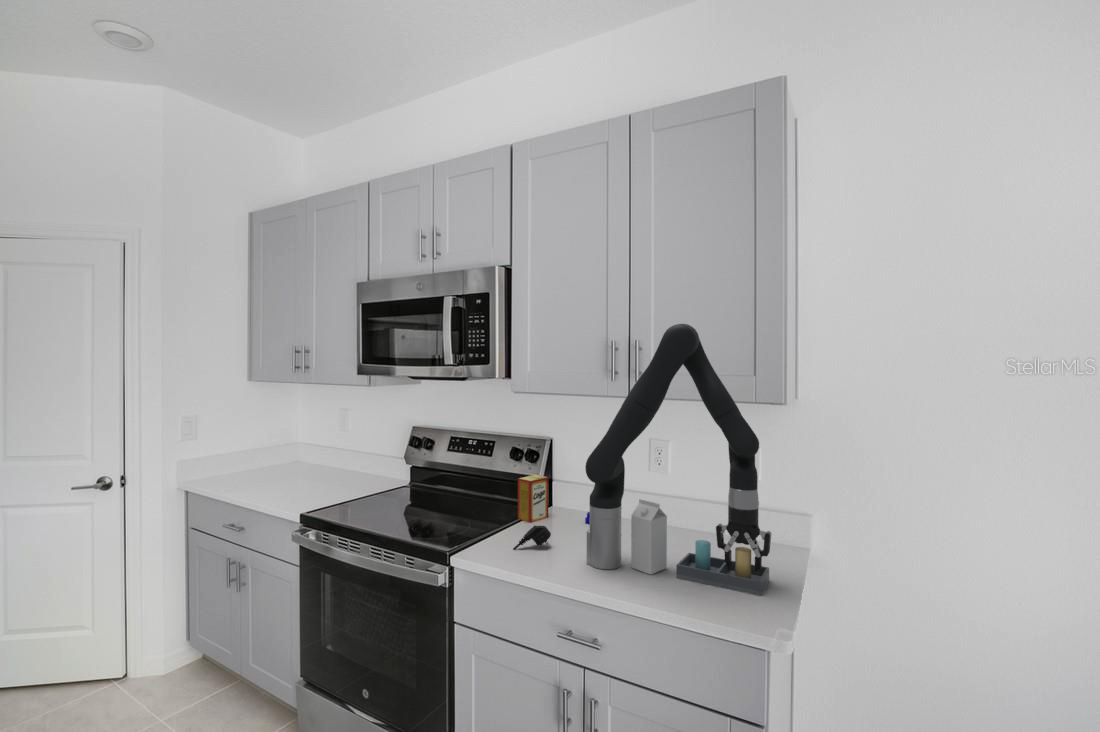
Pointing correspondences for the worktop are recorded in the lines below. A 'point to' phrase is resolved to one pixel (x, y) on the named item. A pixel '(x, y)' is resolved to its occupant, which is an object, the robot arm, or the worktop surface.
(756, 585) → the grey divided tray
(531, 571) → the worktop surface
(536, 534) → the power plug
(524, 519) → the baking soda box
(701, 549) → the teal rounded cylinder
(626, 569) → the worktop surface
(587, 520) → the cable holder
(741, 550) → the tan rounded cylinder
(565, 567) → the worktop surface
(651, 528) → the milk carton
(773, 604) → the worktop surface
